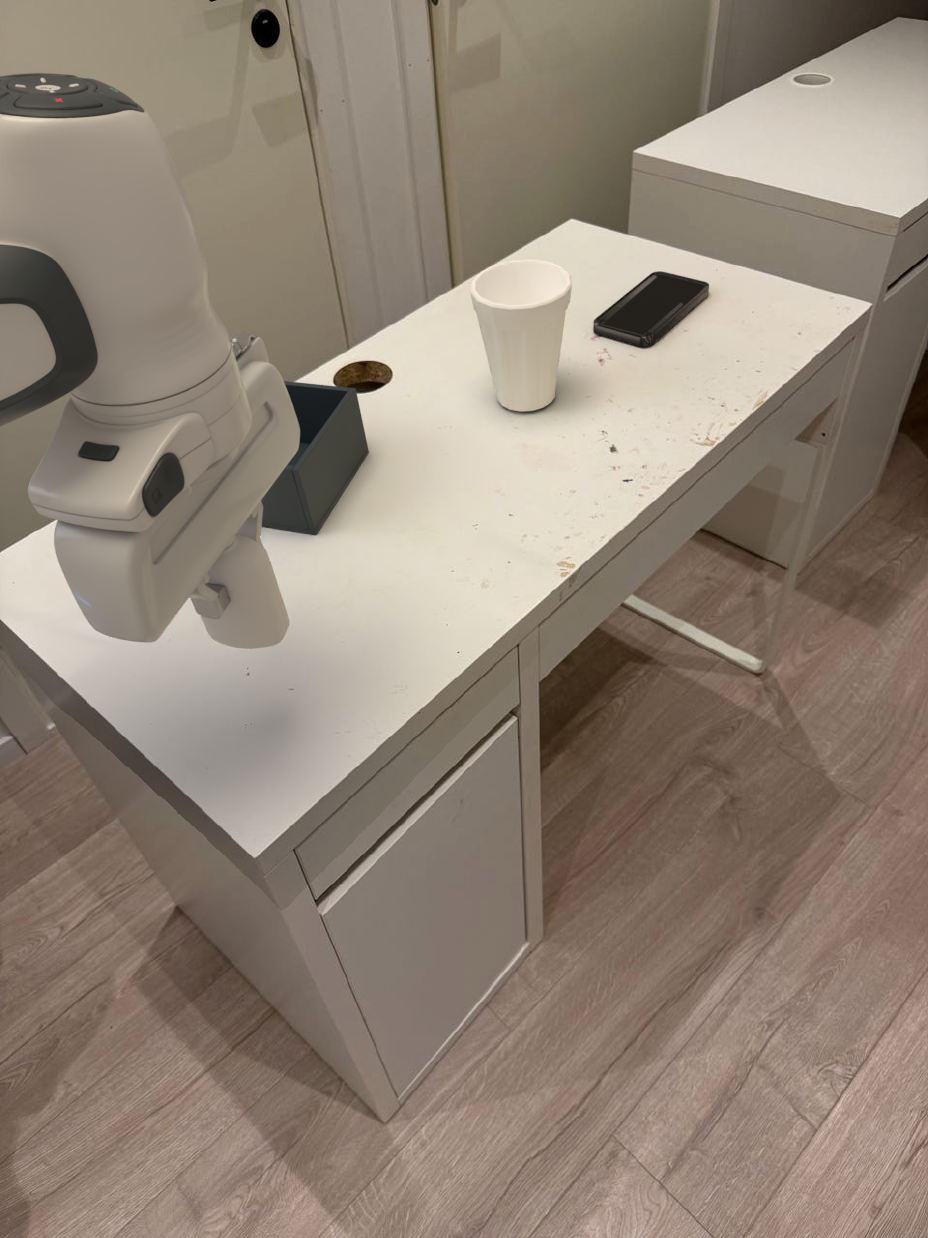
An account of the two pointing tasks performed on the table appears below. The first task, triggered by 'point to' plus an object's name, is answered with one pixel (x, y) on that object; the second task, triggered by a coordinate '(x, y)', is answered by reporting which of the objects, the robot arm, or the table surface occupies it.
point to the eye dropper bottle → (247, 597)
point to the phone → (651, 308)
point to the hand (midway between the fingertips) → (232, 585)
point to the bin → (317, 458)
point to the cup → (522, 328)
